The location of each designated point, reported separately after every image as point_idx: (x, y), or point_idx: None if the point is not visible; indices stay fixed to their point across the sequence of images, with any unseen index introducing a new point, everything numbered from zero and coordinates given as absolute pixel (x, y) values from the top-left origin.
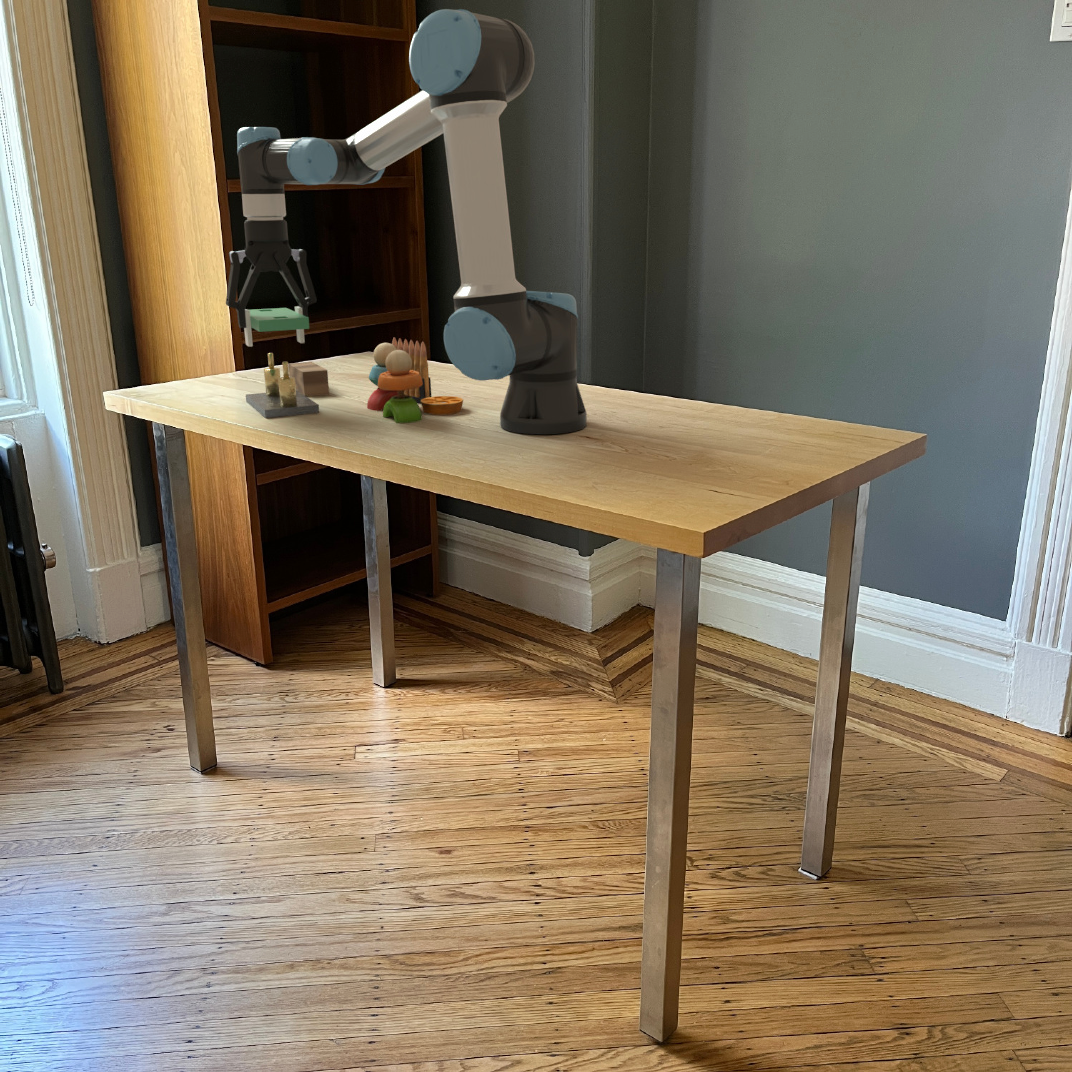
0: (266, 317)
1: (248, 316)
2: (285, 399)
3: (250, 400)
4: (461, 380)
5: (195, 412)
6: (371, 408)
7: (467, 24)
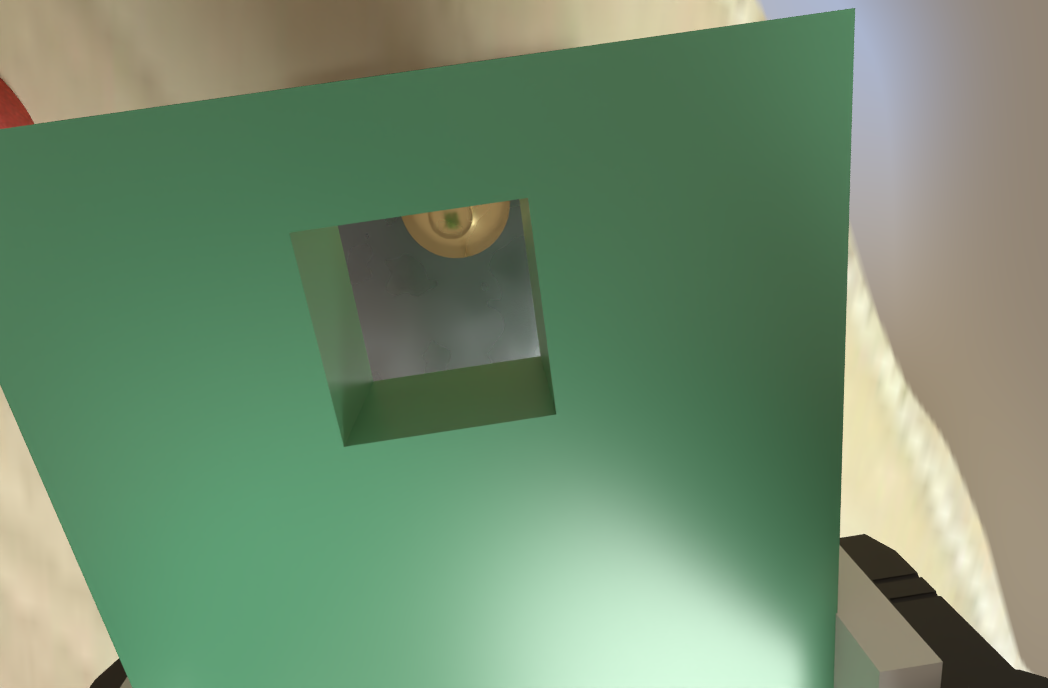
0: (650, 393)
1: (857, 603)
2: None
3: None
4: None
5: (858, 355)
6: (13, 101)
7: None
